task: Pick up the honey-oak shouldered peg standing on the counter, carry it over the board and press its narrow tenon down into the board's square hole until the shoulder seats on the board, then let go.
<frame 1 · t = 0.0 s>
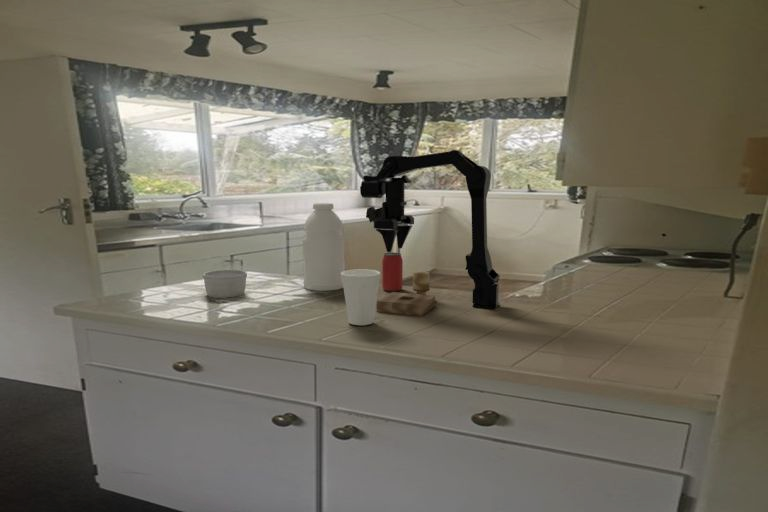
hand: (394, 250, 160), 15 cm above the counter, fingers open, 9 cm apart
board: (406, 308, 149), on the counter
cup: (361, 324, 134), on the counter
beer can: (392, 290, 174), on the counter
bottle: (324, 287, 178), on the counter
peg: (421, 299, 160), on the counter
ramekin: (226, 295, 167), on the counter
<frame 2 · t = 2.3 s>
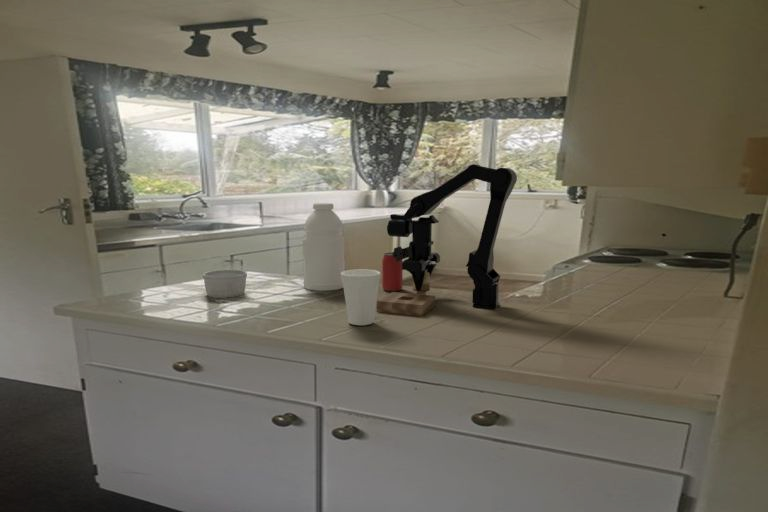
hand: (421, 289, 160), 3 cm above the counter, fingers closed on peg, 5 cm apart
peg: (421, 299, 160), on the counter, touching gripper
everything else where it was.
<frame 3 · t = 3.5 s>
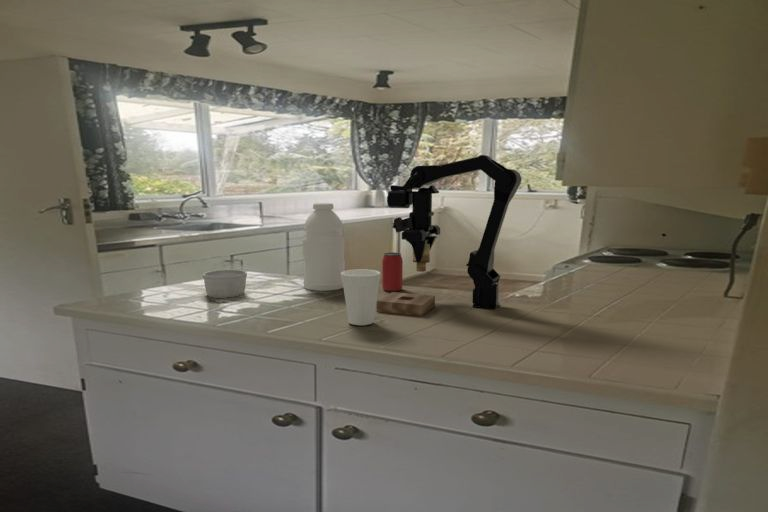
hand: (421, 260, 159), 12 cm above the counter, fingers closed on peg, 5 cm apart
peg: (421, 270, 159), point 9 cm above the counter, touching gripper
everything else where it was.
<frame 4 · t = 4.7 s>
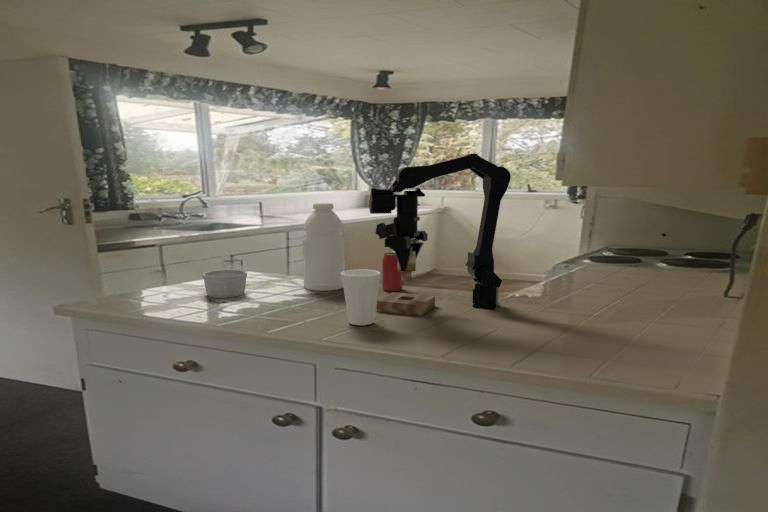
hand: (406, 269, 147), 11 cm above the counter, fingers closed on peg, 5 cm apart
peg: (406, 280, 147), point 8 cm above the counter, touching gripper
everything else where it was.
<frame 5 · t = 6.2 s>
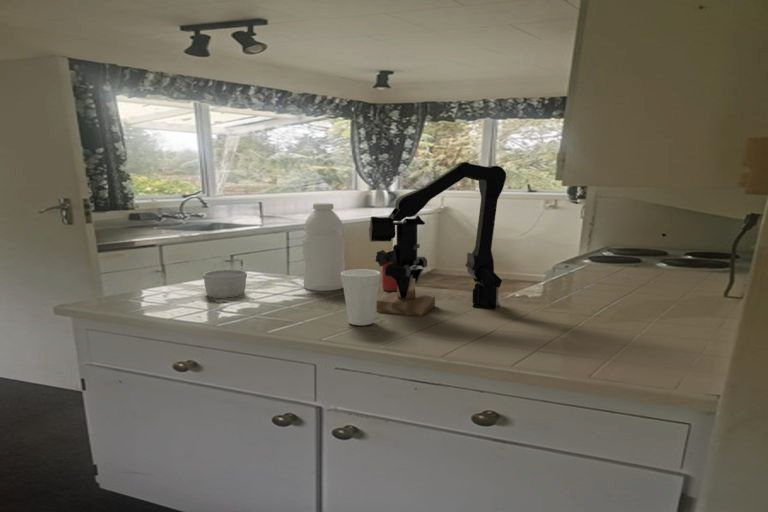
hand: (406, 296, 148), 4 cm above the counter, fingers closed on peg, 5 cm apart
peg: (406, 306, 149), point 1 cm above the counter, touching gripper
everything else where it was.
when the fingers open (3 cm above the counter, at t = 7.2 s): peg stays where it is, resting on board.
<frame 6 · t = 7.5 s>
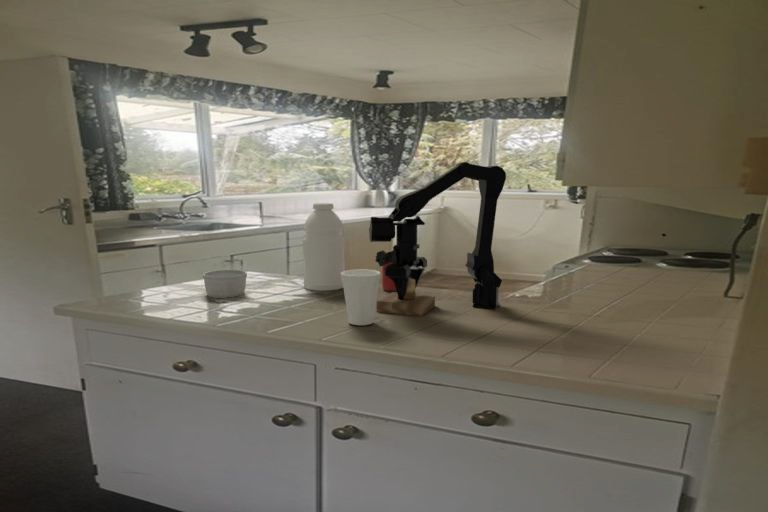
hand: (406, 296, 148), 3 cm above the counter, fingers open, 8 cm apart
peg: (406, 307, 149), resting on board
everything else where it was.
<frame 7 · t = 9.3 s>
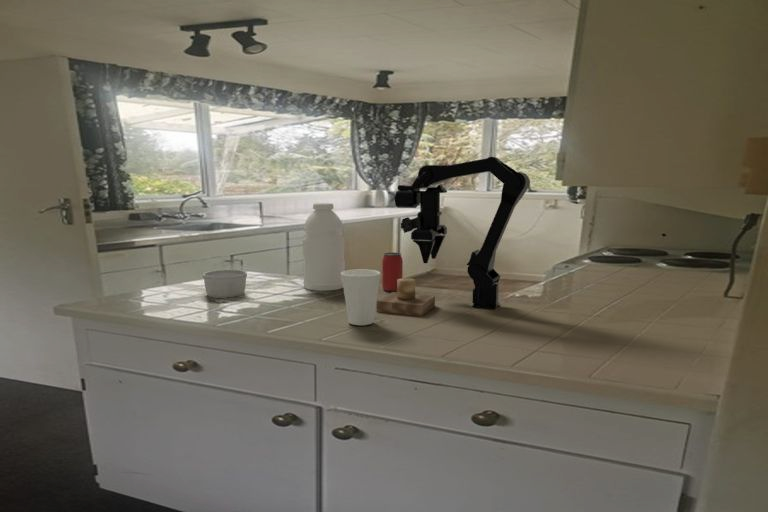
hand: (429, 260, 158), 12 cm above the counter, fingers open, 9 cm apart
nothing on the counter moved.
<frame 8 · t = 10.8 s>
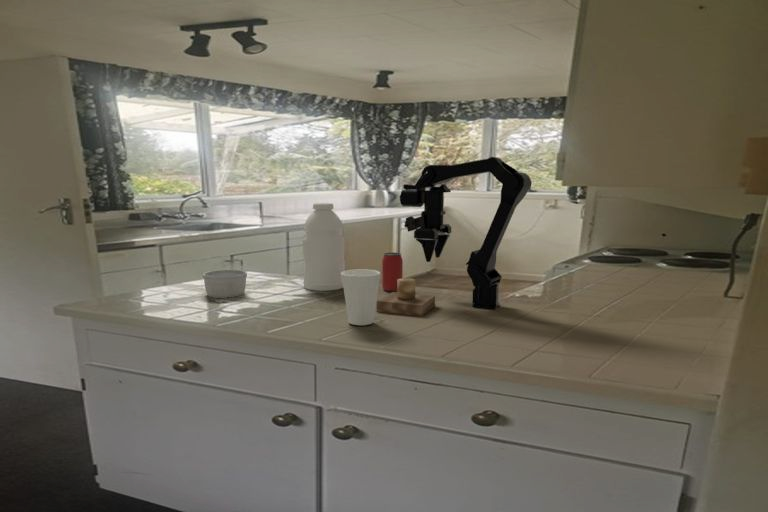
hand: (433, 259, 159), 12 cm above the counter, fingers open, 9 cm apart
nothing on the counter moved.
at the end: peg 0.1 cm off-centre on the board, point 0.2 cm above the board's base; peg tilted 0°; the gripper is holding nothing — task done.
